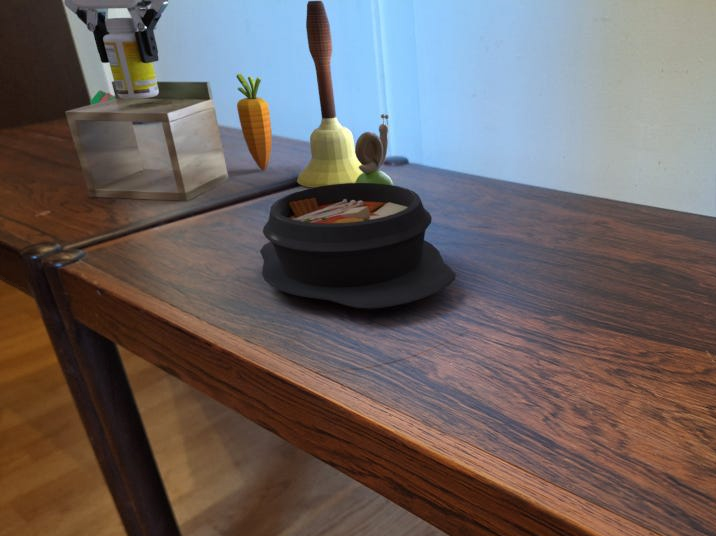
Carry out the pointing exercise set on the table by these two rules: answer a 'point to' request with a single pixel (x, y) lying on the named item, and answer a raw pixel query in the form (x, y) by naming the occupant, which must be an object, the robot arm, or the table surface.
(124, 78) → the supplement bottle
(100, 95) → the building blocks
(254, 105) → the carrot
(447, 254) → the table surface
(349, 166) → the handbell
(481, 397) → the table surface
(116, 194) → the shelf
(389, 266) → the casserole
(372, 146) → the snail figurine
